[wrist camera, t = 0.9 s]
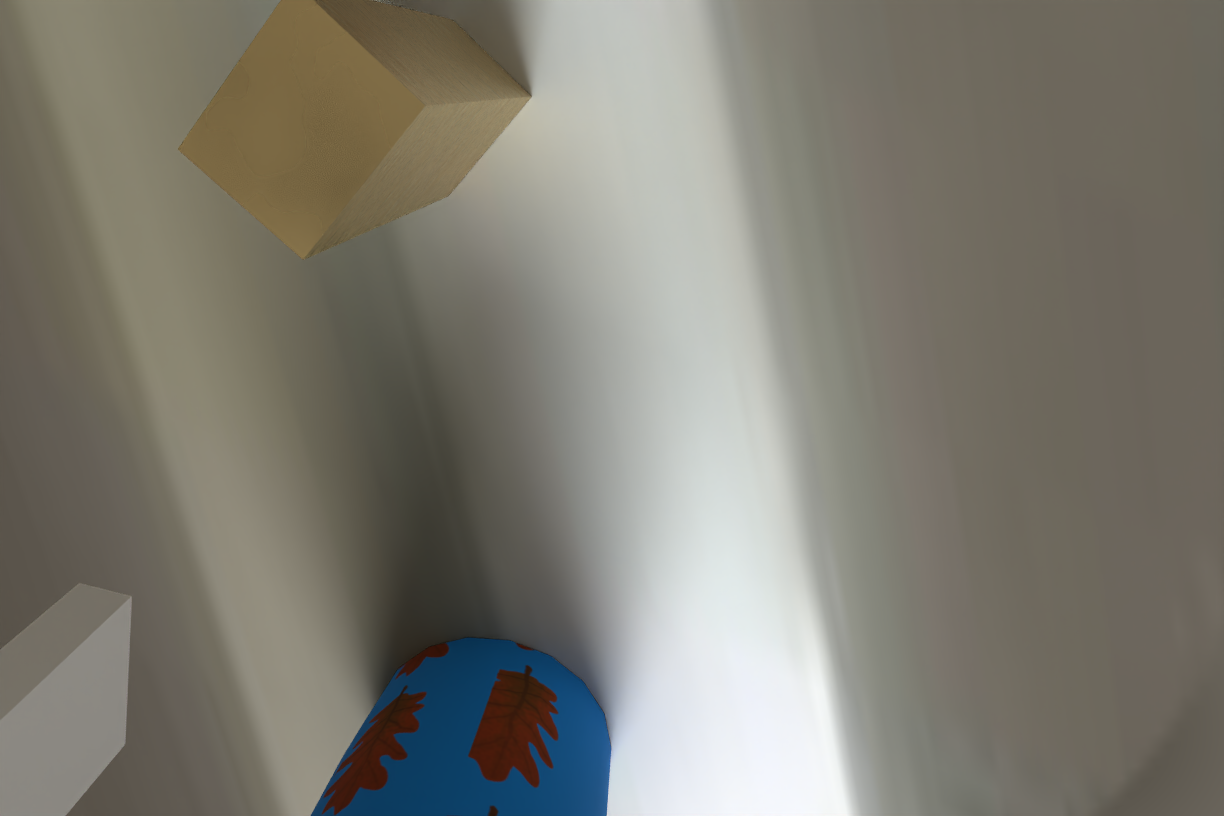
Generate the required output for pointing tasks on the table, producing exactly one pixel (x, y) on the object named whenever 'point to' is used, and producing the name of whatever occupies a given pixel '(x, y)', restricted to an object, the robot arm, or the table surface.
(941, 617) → the table surface
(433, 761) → the thermos
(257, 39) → the tab
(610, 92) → the table surface
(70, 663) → the robot arm
